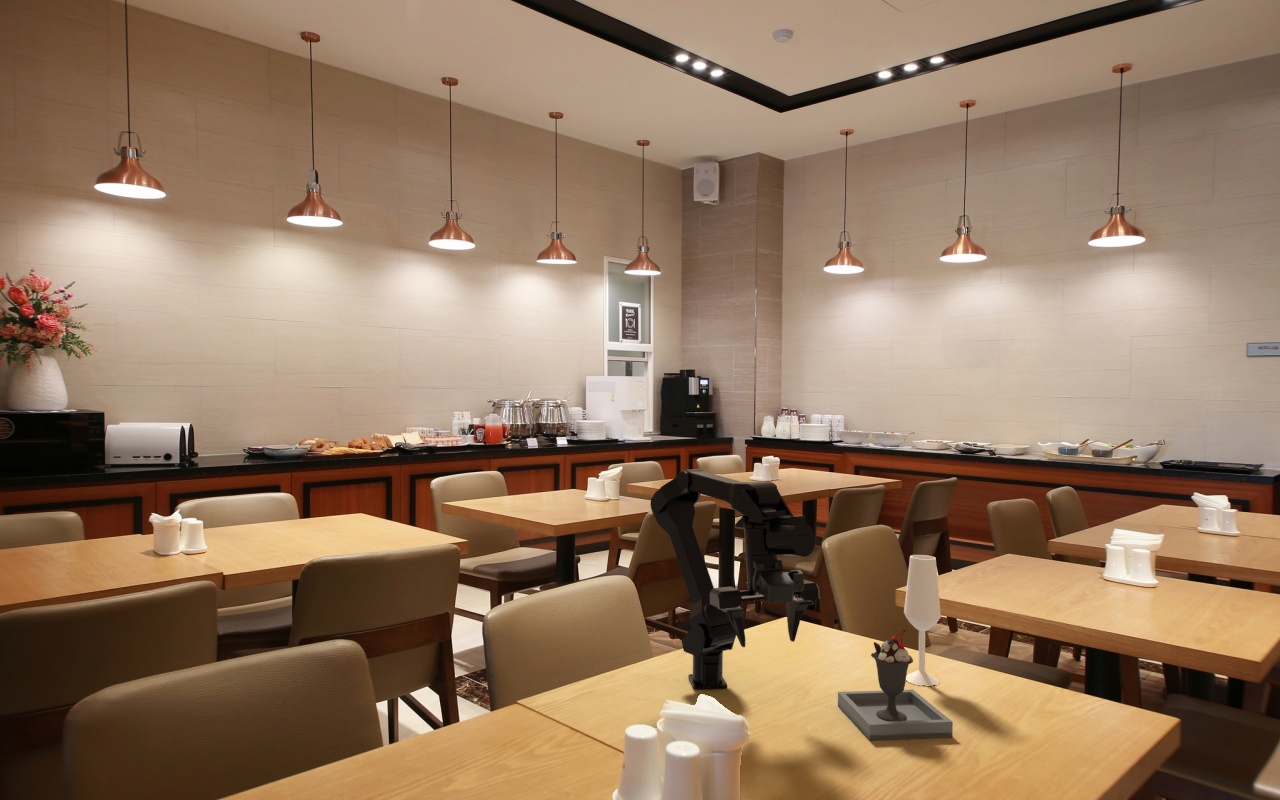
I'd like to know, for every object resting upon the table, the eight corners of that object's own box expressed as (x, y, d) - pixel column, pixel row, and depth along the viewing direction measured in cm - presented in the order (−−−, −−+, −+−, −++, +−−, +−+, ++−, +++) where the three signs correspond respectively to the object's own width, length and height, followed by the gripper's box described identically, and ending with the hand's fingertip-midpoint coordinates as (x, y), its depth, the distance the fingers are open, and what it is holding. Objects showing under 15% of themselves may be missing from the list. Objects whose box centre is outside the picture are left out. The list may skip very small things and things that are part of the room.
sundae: (920, 721, 130) (921, 632, 130) (886, 726, 128) (887, 635, 128) (897, 706, 136) (898, 621, 136) (863, 710, 134) (864, 623, 134)
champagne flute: (902, 683, 149) (903, 559, 149) (904, 672, 156) (905, 552, 156) (939, 688, 147) (940, 562, 147) (940, 677, 153) (941, 555, 153)
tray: (837, 705, 138) (837, 691, 138) (913, 703, 140) (913, 689, 140) (869, 740, 124) (869, 724, 124) (952, 737, 126) (952, 721, 126)
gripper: (727, 562, 127) (733, 660, 126) (831, 553, 132) (838, 647, 130) (706, 556, 138) (711, 646, 137) (802, 548, 142) (809, 635, 141)
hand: (768, 643), depth 136 cm, fingers open, 9 cm apart
